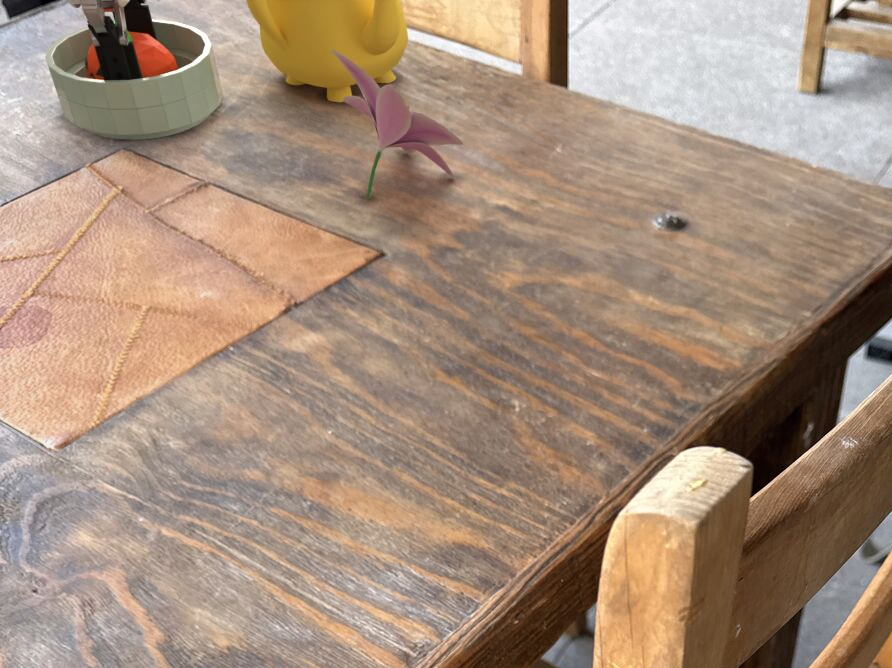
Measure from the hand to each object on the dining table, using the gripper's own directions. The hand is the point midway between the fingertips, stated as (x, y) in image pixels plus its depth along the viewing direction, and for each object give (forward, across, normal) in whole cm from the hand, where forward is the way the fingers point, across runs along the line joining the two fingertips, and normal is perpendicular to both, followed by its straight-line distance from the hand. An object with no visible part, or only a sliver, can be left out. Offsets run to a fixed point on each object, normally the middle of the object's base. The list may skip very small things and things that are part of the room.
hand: (135, 73), depth 104 cm
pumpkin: (+3, 0, 0) cm, 3 cm away
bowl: (+3, 0, 0) cm, 3 cm away
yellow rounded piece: (+3, -5, +19) cm, 20 cm away
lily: (+3, +15, +24) cm, 28 cm away
